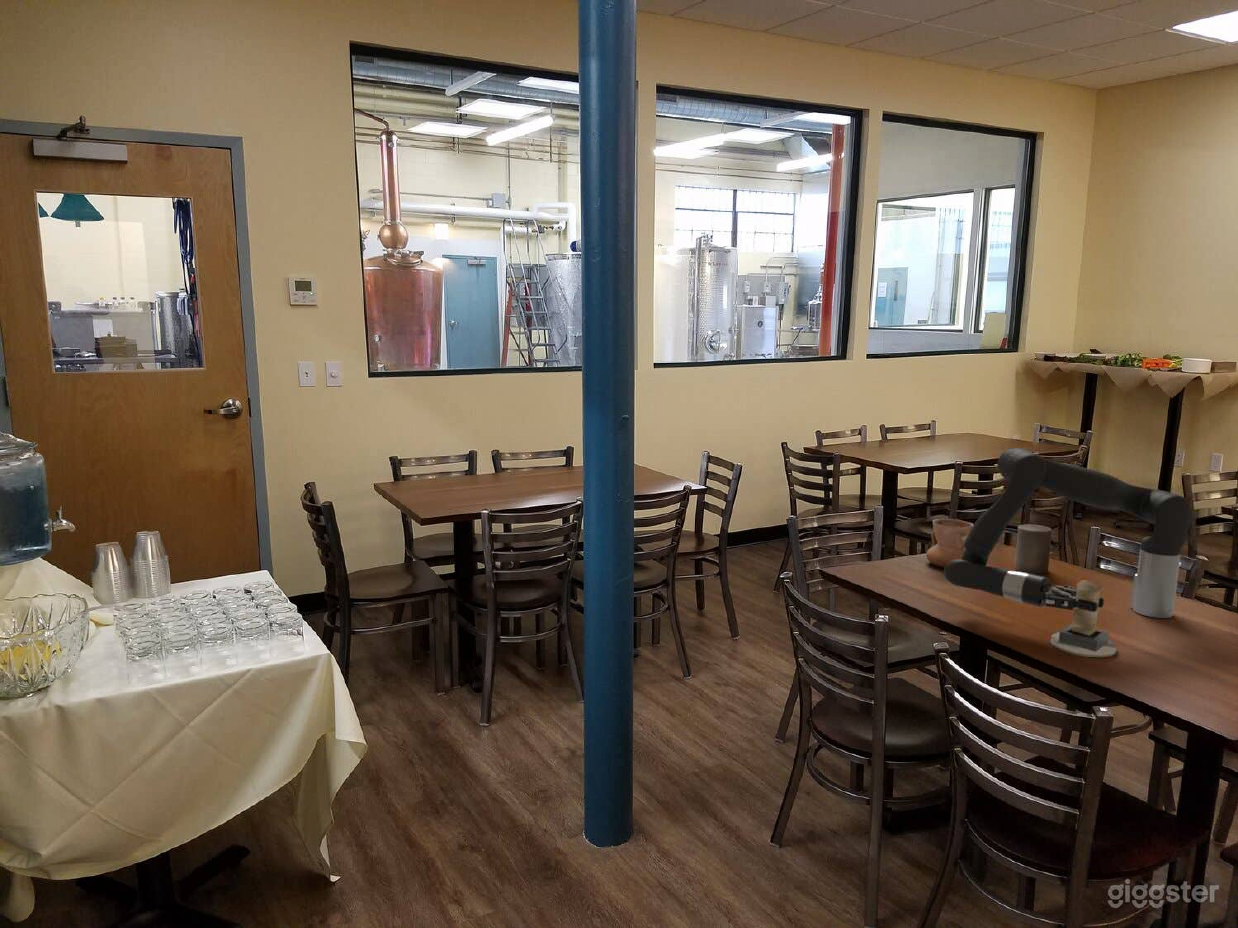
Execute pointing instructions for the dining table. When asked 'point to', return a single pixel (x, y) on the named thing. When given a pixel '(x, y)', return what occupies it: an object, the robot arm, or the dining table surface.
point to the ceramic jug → (948, 541)
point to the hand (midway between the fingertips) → (1099, 605)
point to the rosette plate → (1084, 643)
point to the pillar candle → (1033, 549)
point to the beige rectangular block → (1084, 618)
